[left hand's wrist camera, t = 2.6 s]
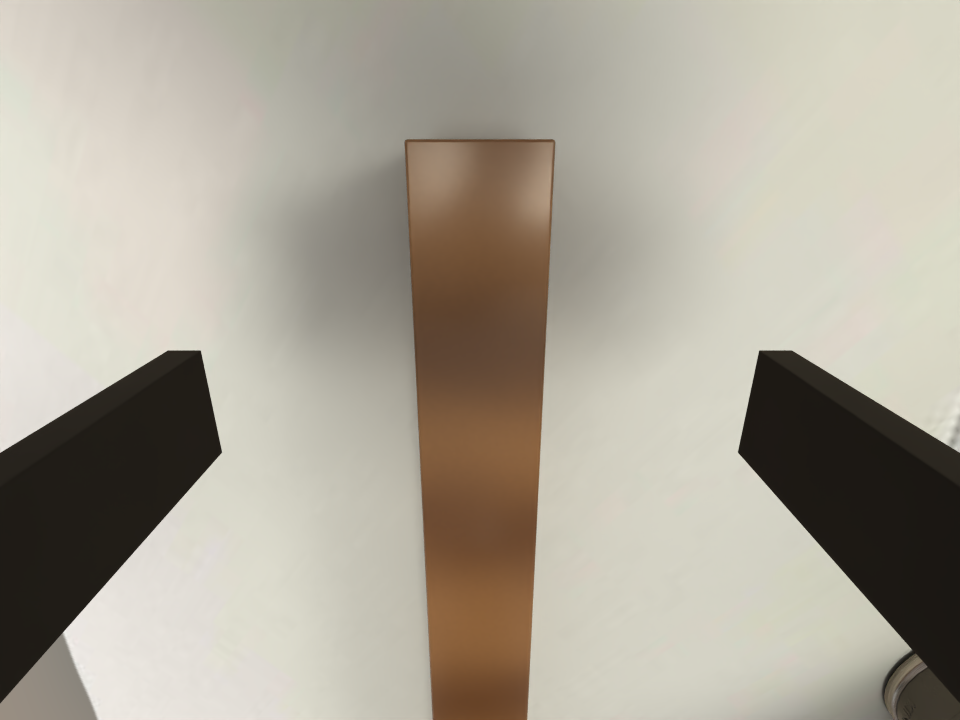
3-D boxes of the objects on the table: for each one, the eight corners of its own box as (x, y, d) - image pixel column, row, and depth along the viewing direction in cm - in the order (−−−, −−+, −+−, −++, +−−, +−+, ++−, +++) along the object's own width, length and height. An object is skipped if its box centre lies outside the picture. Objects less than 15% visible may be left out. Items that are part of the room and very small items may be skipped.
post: (426, 145, 24) (404, 139, 17) (533, 145, 24) (555, 139, 17) (450, 824, 43) (444, 957, 36) (509, 824, 43) (515, 957, 36)
